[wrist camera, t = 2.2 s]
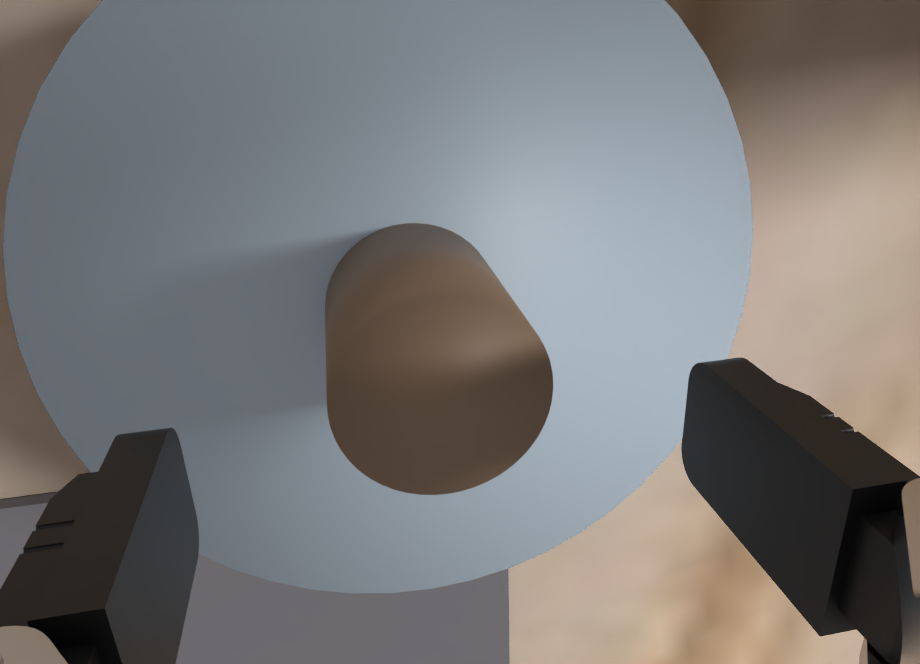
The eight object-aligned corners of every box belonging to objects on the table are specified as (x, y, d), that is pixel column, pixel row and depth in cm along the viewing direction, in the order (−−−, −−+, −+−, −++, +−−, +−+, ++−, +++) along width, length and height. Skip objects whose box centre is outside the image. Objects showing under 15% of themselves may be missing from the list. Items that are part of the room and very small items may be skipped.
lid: (769, -116, 15) (995, -187, 10) (694, 518, 22) (807, 666, 17) (-91, -105, 13) (-367, -193, 8) (123, 606, 20) (53, 812, 15)
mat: (502, 433, 28) (506, 441, 28) (507, 742, 35) (510, 754, 35) (-47, 505, 25) (-55, 516, 25) (81, 827, 32) (77, 841, 32)
